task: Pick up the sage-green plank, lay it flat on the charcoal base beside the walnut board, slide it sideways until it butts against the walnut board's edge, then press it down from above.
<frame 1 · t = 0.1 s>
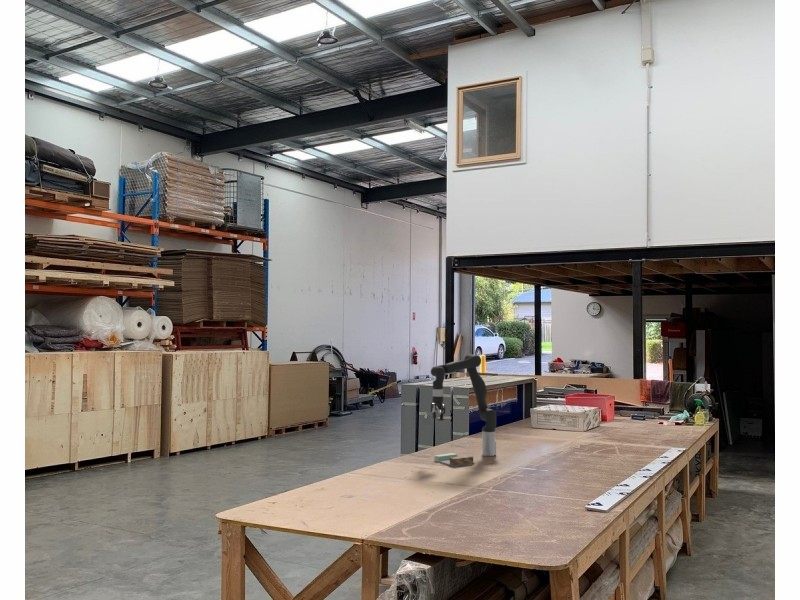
hand: (437, 419, 453), 29 cm above the workbench, tool pointing down, fingers open, 8 cm apart
plank: (445, 460, 455), on the workbench
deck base: (457, 463, 444), on the workbench
walnut board: (461, 460, 440), on the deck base, point 3 cm above the workbench
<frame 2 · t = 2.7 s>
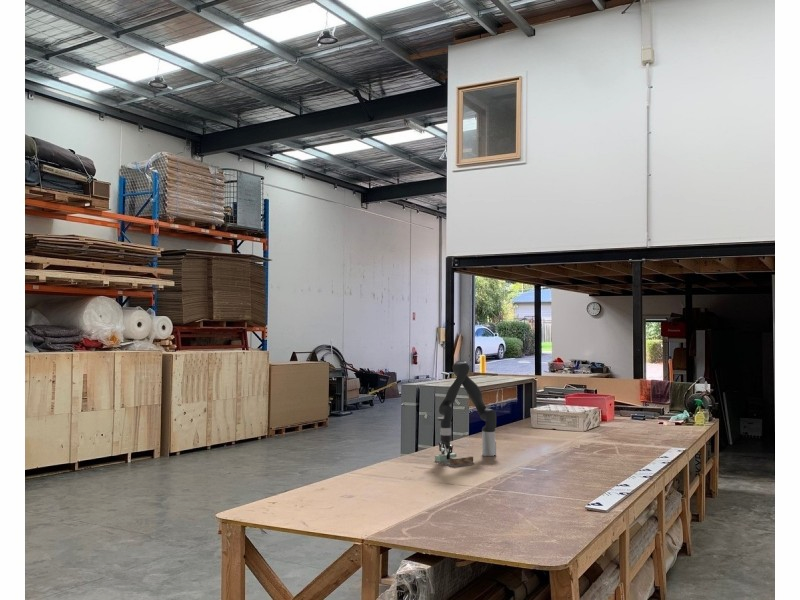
hand: (445, 458, 455), 1 cm above the workbench, tool pointing down, fingers closed on plank, 5 cm apart
plank: (445, 460, 455), on the workbench, touching gripper
when the fingers open (3 cm above the workbench, at t = 8.0 s): plank stays where it is, resting on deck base.
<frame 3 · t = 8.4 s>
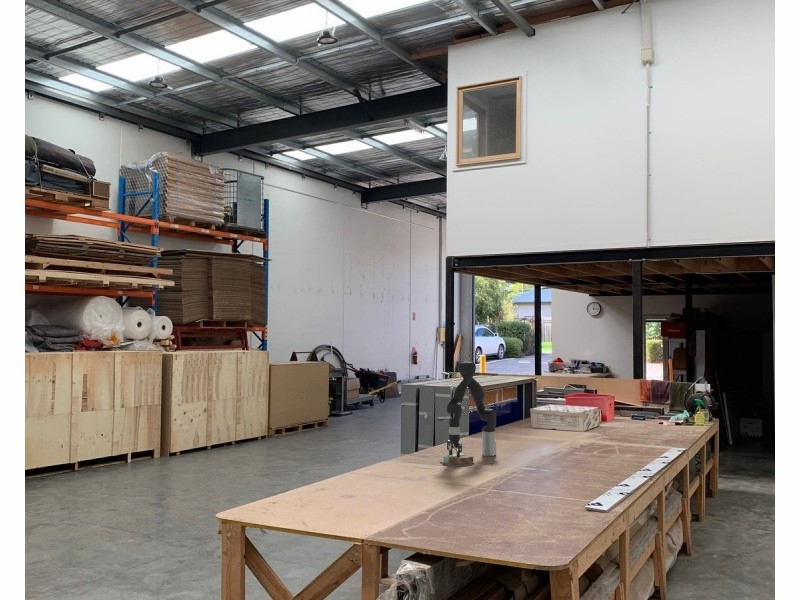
hand: (454, 457, 447), 4 cm above the workbench, tool pointing down, fingers open, 8 cm apart
plank: (454, 461, 447), point 1 cm above the workbench, touching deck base
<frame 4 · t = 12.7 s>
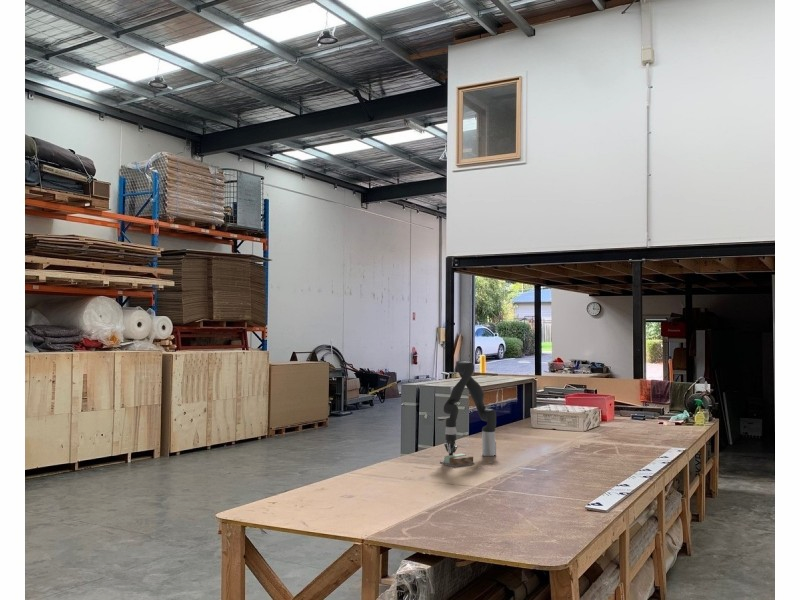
hand: (450, 458, 450), 2 cm above the workbench, tool pointing down, fingers closed
plank: (455, 461, 446), point 1 cm above the workbench, touching gripper
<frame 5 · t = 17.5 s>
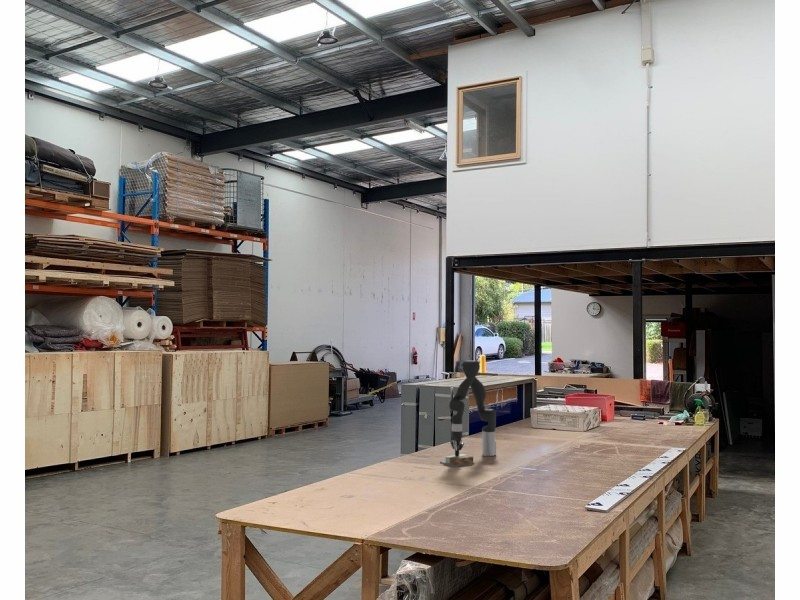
hand: (457, 456, 444), 5 cm above the workbench, tool pointing down, fingers closed
plank: (456, 461, 445), point 1 cm above the workbench, touching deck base, gripper
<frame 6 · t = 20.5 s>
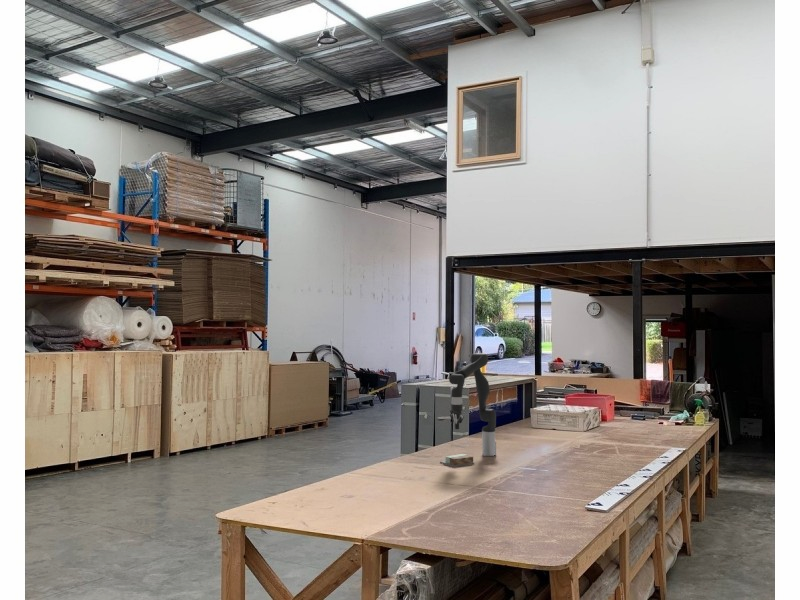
hand: (457, 429, 445), 23 cm above the workbench, tool pointing down, fingers closed
plank: (456, 461, 445), point 1 cm above the workbench, touching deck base
at the end: plank 0.8 cm from the target spot, point 1.0 cm above the workbench; plank tilted 0°; the gripper is holding nothing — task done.
